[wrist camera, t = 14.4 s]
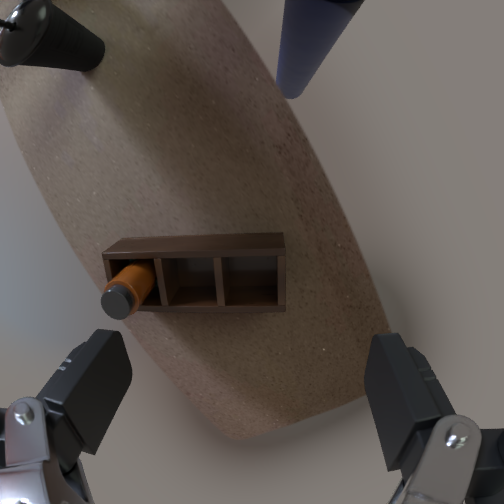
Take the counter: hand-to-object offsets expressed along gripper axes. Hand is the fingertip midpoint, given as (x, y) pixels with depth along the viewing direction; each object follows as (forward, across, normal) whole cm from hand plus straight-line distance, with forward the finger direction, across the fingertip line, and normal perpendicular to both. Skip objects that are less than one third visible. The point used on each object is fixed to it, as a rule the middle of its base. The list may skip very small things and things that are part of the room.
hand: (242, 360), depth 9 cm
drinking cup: (+27, +21, -20) cm, 40 cm away
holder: (+26, +8, +8) cm, 29 cm away
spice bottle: (+26, +14, +8) cm, 30 cm away
